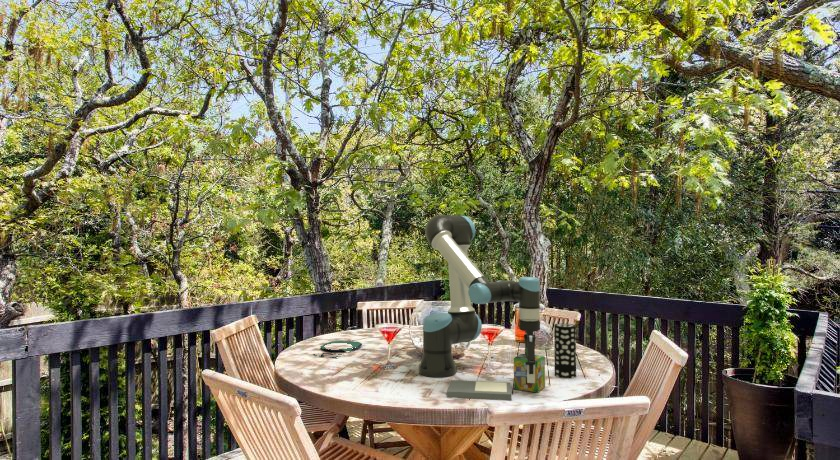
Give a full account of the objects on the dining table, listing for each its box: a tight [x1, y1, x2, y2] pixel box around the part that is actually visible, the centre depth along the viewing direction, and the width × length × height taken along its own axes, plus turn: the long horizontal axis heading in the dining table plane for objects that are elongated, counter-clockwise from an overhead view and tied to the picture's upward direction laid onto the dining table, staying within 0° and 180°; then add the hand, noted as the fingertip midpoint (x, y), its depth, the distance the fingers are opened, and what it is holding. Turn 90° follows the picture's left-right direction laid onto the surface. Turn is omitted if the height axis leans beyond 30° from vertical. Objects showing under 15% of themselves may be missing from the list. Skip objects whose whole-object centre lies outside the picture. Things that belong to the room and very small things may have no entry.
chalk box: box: [513, 347, 546, 393], centre depth 187 cm, size 9×9×15 cm
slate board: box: [446, 379, 513, 401], centre depth 182 cm, size 22×14×2 cm, turn 81°
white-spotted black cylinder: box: [553, 322, 577, 379], centre depth 204 cm, size 8×8×20 cm
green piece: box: [319, 340, 363, 358], centre depth 248 cm, size 20×30×2 cm, turn 161°
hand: (529, 377), depth 187 cm, fingers open, 13 cm apart
